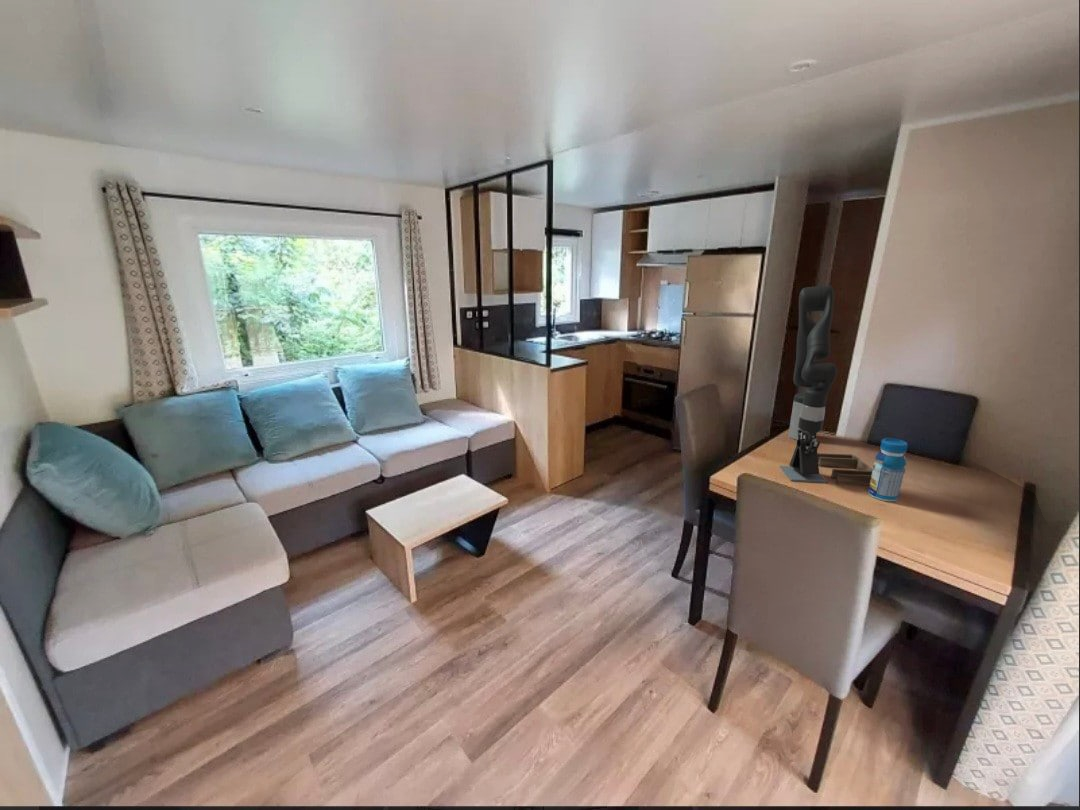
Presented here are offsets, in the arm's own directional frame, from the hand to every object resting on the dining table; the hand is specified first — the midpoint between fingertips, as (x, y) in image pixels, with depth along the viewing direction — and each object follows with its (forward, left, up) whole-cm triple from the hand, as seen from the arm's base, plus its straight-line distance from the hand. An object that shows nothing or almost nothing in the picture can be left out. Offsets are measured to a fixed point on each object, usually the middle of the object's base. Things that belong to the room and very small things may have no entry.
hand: (804, 460), depth 164 cm
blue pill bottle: (+14, +20, -6) cm, 25 cm away
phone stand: (0, 0, -4) cm, 4 cm away
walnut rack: (-4, +16, -6) cm, 18 cm away
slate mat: (0, 0, -6) cm, 6 cm away
